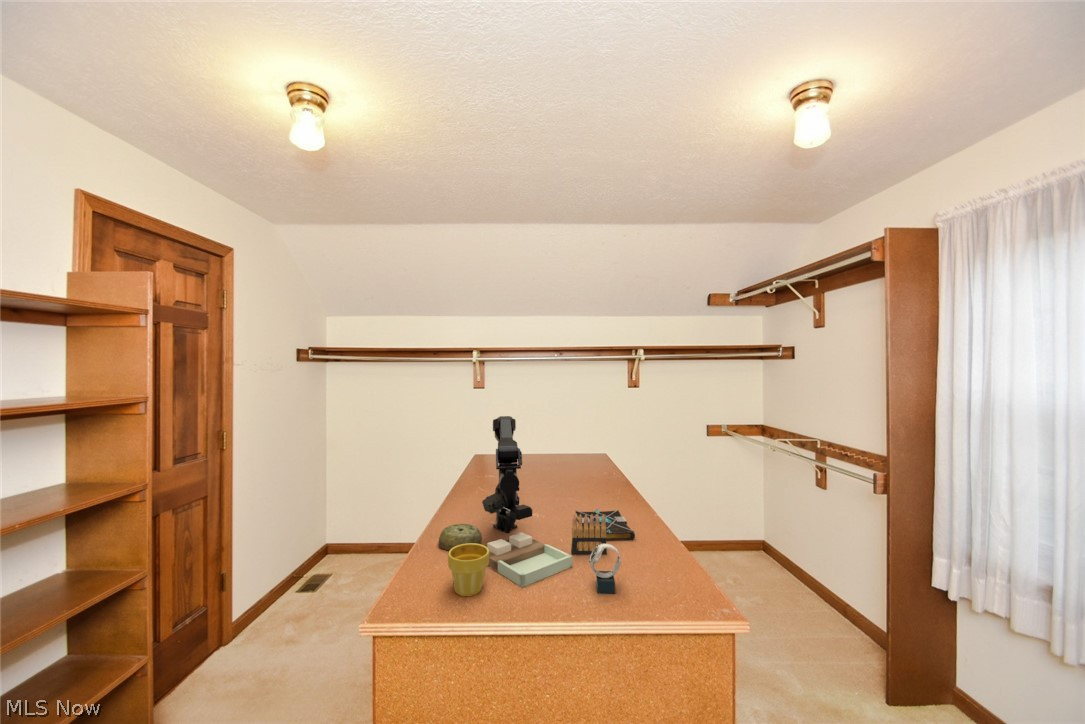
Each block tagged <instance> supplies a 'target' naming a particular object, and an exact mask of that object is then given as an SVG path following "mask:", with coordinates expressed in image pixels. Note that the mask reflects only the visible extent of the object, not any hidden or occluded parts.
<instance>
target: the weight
mask: <svg viewBox="0 0 1085 724" xmlns="http://www.w3.org/2000/svg"><path fill="white" fill-rule="evenodd" d="M482 537H483V535H482V532H481V530H480V529H479V528H478V527H477V526H475V525H474V524H470V523H457V524H452V525H449V526H446V527H444V529H443V530H441V533H440V534H439V538H438V546H439V547H440V548H441V549H442V550H446V551H448V552H449V551H450V550H451V549H452V548H453V547H455V546H458V545H461V544H468V543H476V544H481V542H482Z"/></svg>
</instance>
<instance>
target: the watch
mask: <svg viewBox="0 0 1085 724" xmlns="http://www.w3.org/2000/svg"><path fill="white" fill-rule="evenodd" d="M605 548H607V550H608V549H609V550H612V551H613V552H615V553H616V554H617V558H616V560H615V563H614V565H613V567H612V568H611V570H597V569H596V568H595V565H596V564H597V563H599V561H600V560H601V556H603V555H602V551H603V550H604V549H605ZM588 562H589V564H590V568H591V571H592V572H593V574H594V575H595V584H596V593H597V594H599V595H600V594H601V595H602V594H603V595H616V584H615V583H616V582H615V581H616V580H615V577H614V576H615V575H616V574H617V572H618V571H619V569H620V566H621V564H622V561H621V555H620V553H619V550H618V549H617V547H616V546H614V545H612V544H611V543H606V544H601V543H600V545H597V546H596V547H595V546H594V549H593V551H592V553H591V555H589V559H588Z"/></svg>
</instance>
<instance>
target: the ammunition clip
mask: <svg viewBox="0 0 1085 724" xmlns="http://www.w3.org/2000/svg"><path fill="white" fill-rule="evenodd" d="M572 517H573V518H572V527H571V551H570V553H571V554H570V555H571V556H591V553H592V551H593V549H594V548H595V547H596V546H597V545H600V544H607V540H606V523H605V516H604V514H603V515H602V523H601V536H600V521H599V515H598V514H597V516H596V525H595V536H594V519H593V515H592V514H591V517H590V526H589V527H588V517H587V514H585V518H584V528H583V526H582V516H581V514H580V515H579V520H578V522H577V520H576V518H577V514H576V513H574V514H573V516H572ZM607 555H608V548H605V549H604V550H603V551H602V555H601V556H607Z"/></svg>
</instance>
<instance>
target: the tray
mask: <svg viewBox="0 0 1085 724" xmlns="http://www.w3.org/2000/svg"><path fill="white" fill-rule="evenodd" d="M572 567H573V555H572V554H569V553H567V552H565V551H562V550H560V549H559V548H556V547H554V546H552V545H550V544H548V543H546V544H545V545H544V553H542V554H540V555H537V556H534V557H532V558H529V559H526V560H523V561H521V562H518V563H515V564H512V565H508V564H506V563H505V562H503V561H501V560H500V561H498V572H497V573H499V574H500V575H502V576H503V577H505V578H506V579H508V580H510V581H511V582H513V583H514V584H516V585H517V586H519V587H520V588H524V587H527V586H529V585H531V584H534V583H536V582H538V581H541V580H543V579H546V578H548V577H551V576H553V575H556V574H557V573H561V572H563V571H565V570H567V569H570V568H572Z"/></svg>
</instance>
